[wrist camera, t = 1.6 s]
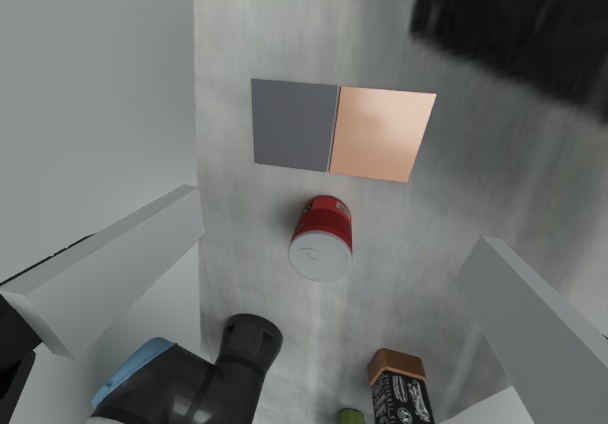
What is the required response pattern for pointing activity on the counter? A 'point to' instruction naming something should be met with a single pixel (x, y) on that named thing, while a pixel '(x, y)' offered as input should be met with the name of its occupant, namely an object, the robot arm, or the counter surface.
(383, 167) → the terracotta tile
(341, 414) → the plant pot
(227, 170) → the counter surface
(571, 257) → the counter surface
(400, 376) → the whiskey bottle
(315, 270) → the canned food
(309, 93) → the charcoal mat
